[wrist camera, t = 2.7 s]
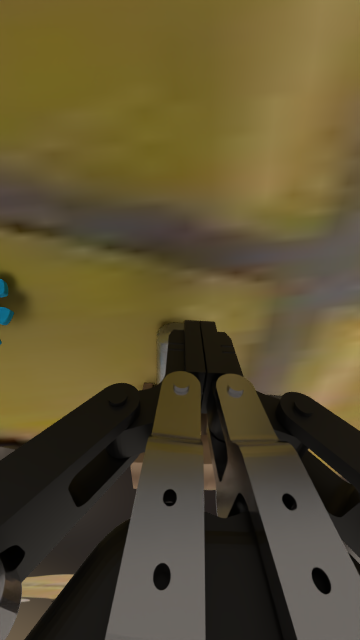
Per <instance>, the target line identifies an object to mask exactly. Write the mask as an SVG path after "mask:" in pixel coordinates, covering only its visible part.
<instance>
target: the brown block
mask: <svg viewBox="0 0 360 640" xmlns="http://www.w3.org/2000/svg"><path fill="white" fill-rule="evenodd" d="M152 387H153V383H144V386H143V390H145V389H149V388H152ZM207 424H208V417H207V414H206V413H201V441H202V442H203V456H204V490H216V483H215V477H214V472H213V466H212V460H211V455H210V449H209V444H208V438H207V431H206V430H207ZM144 454H145V452H143V453H140V455H139V456H138V457H137V459H136V460H135V461H134V462H133V463H132V464H131V465H130V466H131V473H132V481H133V488H134V489H137V487H138V482H139V478H140V473H141V468H142V464H143V459H144Z"/></svg>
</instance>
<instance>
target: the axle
mask: <svg viewBox="0 0 360 640" xmlns="http://www.w3.org/2000/svg"><path fill="white" fill-rule="evenodd" d="M173 330H184V323H169V324H166V325H164V326H163V327H161V328H160V329H159V331H158V333H157V385H158V384H159V383H160V382H161V381H162V380H163V378H164V376H165V371H166V360H167V350H168V338H169V334H170V333H171V332H172V331H173Z"/></svg>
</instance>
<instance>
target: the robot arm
mask: <svg viewBox="0 0 360 640" xmlns="http://www.w3.org/2000/svg"><path fill="white" fill-rule="evenodd" d="M201 413H206V414H207V417H208V424H207V430H206V431H207V438H208V444H209V449H210V455H211V460H212V466H213V472H214V477H215V483H216V508H217V516H215V515H212V514H210V513H207V512H204V456H203V442H202V441H201ZM308 449H310V450H311V451H313V452H314V453H315V454H316V455H317V456H319V457H320V458H321V459H322V460H323V461H325V462H326V463H327V464H328V465H329V466H331V467H332V468H333V469H334V470H335V471H337V472H338V473H339V474H340V475H341V476H343V477H344V478H345V479H346V480H347V481H349V482H350V483H351V484H350V483H347V482H346V481H344V480H343V479H341V478H340V477H339V476H338V475H336V474H335V473H334V472H333V471H332V470H331V469H329V468H328V467H327V466H326V465H325V464H323V463H322V462H321V461H320V460H319V459H317V458H316V457H315V456H314V455H313V454H312V453H310V452H309V451H308ZM143 452H145V454H144V459H143V464H142V468H141V473H140V478H139V482H138V487H137V492H136V496H135V501H134V506H133V510H132V515H131V518H130V519H128V520H126V521H125V522H123V523H122V524H120V525H119V526H117V527H116V528H115V529H113V530H112V531H111V532H110V533H109V534H107V536H105V538H103V540H102V541H101V542H100V543H99V544H98V545H97V546H96V547H95V548H94V550H93V551H92V552H91V553H90V555H89V556H88V557H87V558H86V560H85V561H84V562H83V564H82V565H81V566H80V568H79V569H78V570H77V572H76V573H75V574H74V575H73V577H72V578H71V579H70V581H69V582H68V583H67V585H66V586H65V587H64V589H63V590H62V591H61V592H60V594H59V595H58V596H57V598H56V599H55V600H54V602H53V603H52V604H51V606H50V607H49V608H48V610H47V611H46V612H45V613H44V615H43V616H42V617H41V619H40V620H39V621H38V623H37V624H36V625H35V626H34V628H33V629H32V630H31V632H30V633H29V635H28V636H27V637H26V638H25V639H24V640H360V564H359V563H358V562H357V561H356V560H355V559H354V558H353V557H352V556H351V555H350V554H349V553H348V552H347V550H346V548H345V546H344V544H343V542H342V540H343V541H344V542H345V543H346V544H347V545H348V546H349V547H350V548H351V549H352V550H353V551H354V552H355V553H356V554H357V555H358V557H360V431H359V430H357V429H356V428H354V427H353V426H351V425H350V424H349V423H347V422H346V421H344V420H343V419H341V418H340V417H338V416H337V415H335V414H334V413H332V412H331V411H329V410H328V409H326V408H325V407H323V406H322V405H320V404H319V403H317V402H316V401H314V400H313V399H311V398H310V397H308V396H306V395H304V394H301V393H297V392H288V393H285V394H284V395H283V396H282V397H281V399H278V398H275V397H271V396H268V395H265V394H262V393H260V392H258V391H256V390H255V388H254V386H253V385H252V383H251V382H250V381H249V380H247V379H246V378H244V377H243V374H242V371H241V368H240V365H239V362H238V359H237V356H236V354H235V350H234V347H233V344H232V340H231V338H230V337H229V336H228V335H227V334H226V333H225V332H217V329H216V325H215V322H209V321H200V322H199V321H191V320H184V330H173V331H172V332H171V333H170V334H169V338H168V350H167V360H166V371H165V376H164V378H163V380H162V381H161V382H160V383H159V384H158V385H156V386H155V387H152V388H149V389H145V390H141V391H138V390H137V389H136V388H135V387H134V386H132V385H130V384H127V383H117V384H113V385H110V386H108V387H107V388H105V389H104V390H102V391H101V392H99V393H98V394H96V395H95V396H93V397H92V398H90V399H89V400H88V401H86V402H85V403H83V404H82V405H80V406H79V407H77V408H76V409H75V410H73V411H72V412H70V413H69V414H67V415H66V416H64V417H63V418H61V419H60V420H59V421H57V422H56V423H54V424H53V425H51V426H50V427H48V428H47V429H45V430H44V431H43V432H41V433H40V434H38V435H37V436H35V437H34V438H32V439H31V440H30V441H28V442H27V443H25V444H24V445H22V446H21V447H19V448H18V449H16V450H15V451H14V452H12V453H11V454H9V455H8V456H6V457H5V458H3V459H2V460H0V640H5V639H6V637H7V635H8V634H9V632H10V630H11V627H12V626H13V624H14V621H15V619H16V616H17V613H18V610H19V606H20V602H21V596H22V585H21V583H22V581H23V580H24V579H25V578H26V577H27V576H28V575H29V574H30V573H31V572H32V571H33V570H34V568H35V567H36V566H37V565H38V564H39V563H40V562H41V561H42V560H43V559H44V558H45V557H46V556H47V555H48V553H49V552H50V551H51V550H52V549H53V548H54V547H55V546H56V545H57V544H58V543H59V542H60V540H61V539H62V538H63V537H64V536H65V535H66V534H67V533H68V532H69V531H70V530H71V529H72V528H73V527H74V525H75V524H76V523H77V522H78V521H79V520H80V519H81V518H82V517H83V516H84V515H85V514H86V513H87V511H88V510H89V509H90V508H91V507H92V506H93V505H94V504H95V503H96V502H97V501H98V500H99V498H100V497H101V496H102V495H103V494H104V493H105V492H106V491H107V490H108V489H109V488H110V487H111V485H112V484H113V483H114V482H115V481H116V480H117V479H118V478H119V477H120V476H121V475H122V474H123V473H124V472H125V470H126V469H127V468H128V467H129V466H130V465H131V464H132V463H133V462H134V461H135V460H136V459H137V457H138V456H139V455H140V453H143ZM341 539H342V540H341Z"/></svg>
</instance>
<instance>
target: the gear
mask: <svg viewBox="0 0 360 640" xmlns="http://www.w3.org/2000/svg"><path fill="white" fill-rule="evenodd" d="M6 296H8V286H7V283H6V282H5V281H3V280H2V279H0V297H6ZM13 315H14V312H13V311H11V310H9V309H8V308H5V307H0V324H2V325H7V324H8V323H9V322H10V321H11V319H12V317H13ZM1 344H2V343H1V340H0V345H1Z"/></svg>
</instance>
